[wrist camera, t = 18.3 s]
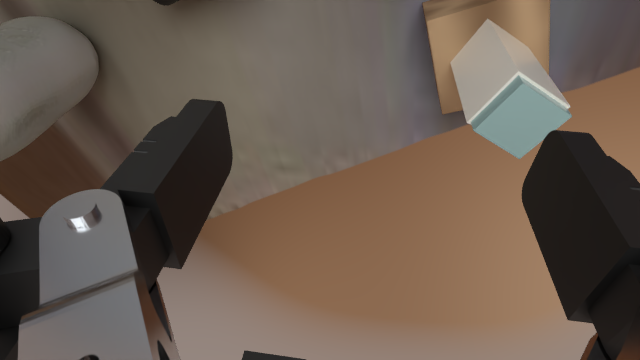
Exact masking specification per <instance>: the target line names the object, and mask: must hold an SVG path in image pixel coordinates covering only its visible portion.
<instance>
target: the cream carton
mask: <svg viewBox="0 0 640 360" xmlns="http://www.w3.org/2000/svg"><path fill="white" fill-rule="evenodd" d="M450 63H451V67H452V71H453V74H454V78H455V82H456V85H457V89H458V92H459V96H460V100H461V103H462V107H463V111H464V114H465V118H466V121H467V123H468V124H470V125H472V127H473V131H475V132H476V133H478V134H480V135H481V136H483V137H485V138H486V139H488V140H490V141H491V142H493V143H494V144H496V145H498V146H499V147H501V148H502V149H504V150H506V151H507V152H509V153H511V154H512V155H514V156H515V157H517V158H518V159H520V158H521V157H523V156H524V155H525V154H526V153H528V152H529V151H530V150H531V149H532V148H534V147H535V146H536V145H537V144H538V143H540V142H541V141H542V140H544V139H545V137H546V136H547V134H548V133H549V132H551V131H553V130H556V129H557V128H558V127H559V126H561V125H562V124H563V123H564V122H566V121H567V120H568V119H569V118H571V117H572V115H571V114H570V112H569V111H568V108H570V105H569V104H568V102H567V101H566V99H565V98H564V97H563V95H562V94H561V92H560V91H559V90H558V88H557V87H556V85H555V84H554V82H553V81H552V80H551V78H550V77H549V75H548V74H547V73H546V71H545V70H544V68H543V67H542V66H541V64H540V63H539V61H538V60H537V59H536V57H535V56H534V54H533V53H532V52H531V50H530V49H529V47H528V46H526V45H525V44H523V43H522V42H520V41H519V40H518V39H516V38H515V37H513V36H512V35H511V34H509V33H508V32H506V31H505V30H503V29H502V28H501V27H499V26H498V25H496V24H495V23H494V22H492V21H491V20H489V19H487V20H486V21H485V22H484V23H483V25H482V26H481V27H480V28H479V29H478V30H477V32H476V33H475V34H474V35H473V36H472V38H471V39H470V40H469V41H468V42H467V43H466V45H465V46H464V47H463V48H462V49H461V50H460V52H459V53H458V54H457V55H456V56H455V57H454V59H453V60H452V61H451V62H450Z"/></svg>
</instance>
